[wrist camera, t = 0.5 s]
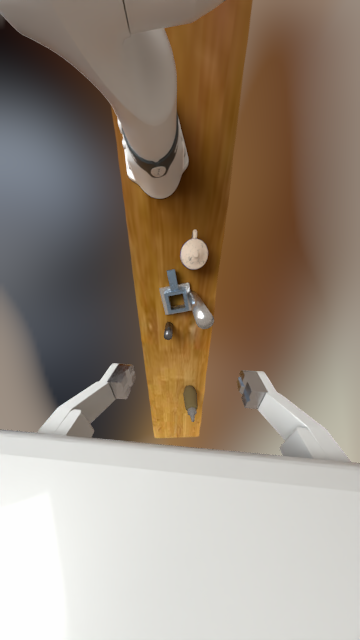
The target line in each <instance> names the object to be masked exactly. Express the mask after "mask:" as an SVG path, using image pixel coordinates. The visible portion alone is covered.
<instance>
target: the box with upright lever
mask: <svg viewBox="0 0 360 640" xmlns="http://www.w3.org/2000/svg"><path fill="white" fill-rule="evenodd" d="M167 274H168V279H169V284H170V286H167V287H162V288H159V289H160V293H161V298H162V302H163V306H164V310H165V314H166V315H169V314H174V313H180V312H185V311H191V310H192V311H193V314H194V317H195V320H196V323H197V325H198V327H200V328H202V329H207V328H209V327H211V326H212V325H213V323H214V318H213V316H212V314H211V313H210V312H209V310H208V309H207V307H206V306H205V304H204V303H203V301H202V300H201V298H200V297H199V296H198V294H197V293H196V292H195V291H190V286H189V282H188V283H183V284H177V279H176V273H175V269H172V270H167ZM178 294H183V298H184V303H185V304H183V305H177V306H172V307H171V302H170V297H169V296H172V295H178Z"/></svg>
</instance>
